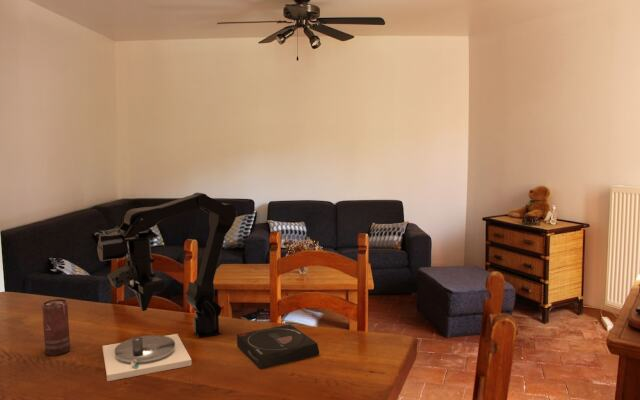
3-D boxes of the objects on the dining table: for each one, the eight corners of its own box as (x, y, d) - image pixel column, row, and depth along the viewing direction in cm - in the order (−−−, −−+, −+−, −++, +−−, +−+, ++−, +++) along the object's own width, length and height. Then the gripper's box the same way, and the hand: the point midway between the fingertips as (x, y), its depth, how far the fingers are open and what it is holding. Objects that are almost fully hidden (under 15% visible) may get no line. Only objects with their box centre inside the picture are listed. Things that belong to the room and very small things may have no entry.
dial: (127, 340, 144) (126, 321, 143) (181, 340, 144) (180, 320, 143) (102, 367, 127) (100, 345, 126) (163, 366, 127) (162, 344, 126)
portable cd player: (319, 356, 138) (319, 342, 137) (259, 370, 129) (259, 355, 129) (292, 336, 152) (292, 323, 152) (237, 348, 144) (236, 334, 143)
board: (177, 338, 150) (177, 333, 150) (191, 365, 132) (191, 359, 132) (102, 351, 141) (102, 345, 141) (107, 381, 123) (106, 374, 123)
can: (60, 357, 137) (57, 306, 136) (40, 355, 139) (36, 304, 137) (76, 348, 143) (72, 299, 142) (56, 346, 145) (52, 297, 143)
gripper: (98, 254, 142) (103, 309, 144) (122, 266, 128) (126, 327, 130) (138, 248, 149) (142, 300, 151) (165, 259, 135) (168, 316, 137)
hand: (144, 310), depth 142 cm, fingers closed
